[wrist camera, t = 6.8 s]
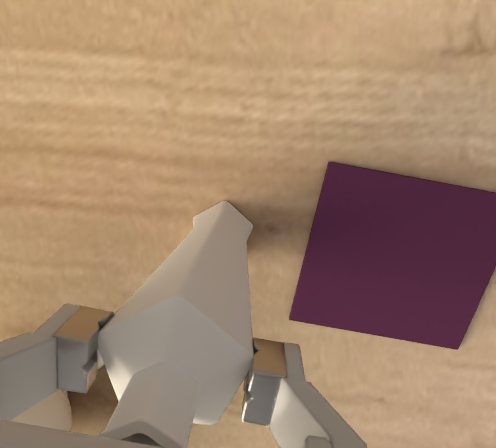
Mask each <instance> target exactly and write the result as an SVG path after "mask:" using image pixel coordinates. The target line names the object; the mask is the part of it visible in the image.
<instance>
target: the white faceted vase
mask: <svg viewBox="0 0 496 448" xmlns="http://www.w3.org/2000/svg"><path fill="white" fill-rule="evenodd" d="M193 226H194V229H193V230H192V231H191V232H190V233H189V234H188V235H187V236H186V237H185V238H184V240H183V241H182V242H181V243H180V244H179V245H178V246H177V247H176V248H175V249H174V250H173V252H172V253H171V254H170V255H169V256H168V257H167V258H166V259H165V260H164V261H163V262H162V264H161V265H160V266H159V267H158V268H157V269H156V270H155V271H154V272H153V273H152V274H151V276H150V277H149V278H148V279H147V280H146V281H145V282H144V283H143V284H142V285H141V286H140V288H139V289H138V290H137V291H136V292H135V293H134V294H133V295H132V296H131V297H130V298H129V300H128V301H127V302H126V303H125V304H124V305H123V306H122V307H121V308H120V309H119V310H118V312H117V313H116V314H115V315H114V316H113V317H112V318H111V319H110V320H109V322H108V323H107V324H106V325H105V326H104V327H103V328H102V329H101V330H100V331H99V334H98V349H99V351H100V354H101V357H102V359H103V362H104V365H105V367H106V370H107V372H108V375H109V378H110V380H111V383H112V385H113V388H114V391H115V393H116V396H117V398H118V401H119V403H118V405H117V406H116V408H115V410H114V412H113V414H112V416H111V418H110V420H109V422H108V424H107V426H106V428H105V430H104V431H103V432H101V433H99V434H98V435H96V436H99V437H105V438H111V439H117V440H123V441H128V442H134V443H140V444H146V445H152V446H157V447H163V448H188V447H187V445H188V441H189V437H190V432H191V428H192V424H193V423H197V424H204V425H214V424H216V423H217V422H218V421H219V420H220V418H221V416H222V415H223V413H224V411H225V410H226V408H227V406H228V405H229V403H230V401H231V400H232V398H233V396H234V394H235V393H236V391H237V389H238V388H239V386H240V384H241V383H242V381H243V379H244V378H245V376H246V374H247V373H248V371H249V369H250V367H251V363H252V359H253V355H254V352H253V337H252V322H251V306H250V291H249V276H248V261H247V246H246V241H247V239H248V237H249V235H250V233H251V231H252V229H253V225H252V223H251V222H249V221H248V220H247V219H246V218H245V217H244V216H243V215H242V214H241V213H240V212H239V211H238V210H236V209H235V208H234V207H233V206H232V205H231V204H230V203H229V202H227V201H222V202H220V203H218V204H216V205H215V206H213V207H211V208H209V209H207V210H205V211H203V212H201V213H199V214H197V215H196V216H194V217H193Z"/></svg>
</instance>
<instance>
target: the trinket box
mask: <svg viewBox="0 0 496 448" xmlns="http://www.w3.org/2000/svg"><path fill="white" fill-rule="evenodd" d="M11 421H13V422H18V423H24V424H30V425H36V426H41V427H47V428H53V429H59V430H65V431H70V432H71V431H72V411H71V406H70V402H69V399H68V392H67V391H65V390H58V389H57V391H56V392H54V393H53V394H51V395H50V396H48V397H46V398H45V399H43V400H42V401H40V402H39V403H37V404H35V405H34V406H32V407H31V408H29V409H28V410H26V411H25V412H23V413H21V414H20V415H18V416H17V417H15V418H14V419H12V420H11Z"/></svg>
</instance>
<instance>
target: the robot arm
mask: <svg viewBox="0 0 496 448" xmlns="http://www.w3.org/2000/svg"><path fill="white" fill-rule="evenodd" d="M114 315H115V314H114V313H113V312H110V311H105V310H100V309H95V308H90V307H85V306H80V305H74V304H69V303H68V304H64V305H63V306H62V307H61V308H60V309H59V310H58V311H57V312H56V313H54V314H53V315H52V316H51V317H50V318H49V319H48V320H47V321H46V322H45V323H44V324H43V325H42V326H40V327H39V328H38V329H37V330H36V331H35V332H34V333H29V332H28V333H25V334H22V335H19V336H17V337H14V338H11V339H8V340H5V341H2V342H0V448H163V447H157V446H152V445H146V444H140V443H134V442H128V441H123V440H117V439H111V438H105V437H99V436H94V435H88V434H82V433H76V432H70V431H65V430H59V429H53V428H47V427H41V426H36V425H30V424H24V423H18V422H13V421H11V420H12V419H14V418H15V417H17V416H18V415H20V414H21V413H23V412H25V411H26V410H28V409H29V408H31V407H32V406H34V405H35V404H37V403H39V402H40V401H42V400H43V399H45V398H46V397H48V396H50V395H51V394H53V393H54V392H56V391H57V389H58V390H65V391H72V392H79V393H87V391H88V390H89V388H90V387H91V385H92V384H93V382H94V381H95V379H96V378H97V371H98V369H99V368H101V367H102V366H104V362H103V359H102V357H101V354H100V351H99V349H98V334H99V331H100V330H101V329H102V328H103V327H104V326H105V325H106V324H107V323H108V322H109V320H110V319H111V318H112V317H113V316H114ZM253 352H254V355H253V359H252V363H251V367H250V369H249V371H248V373H247V374H246V376H245V379H244V392H245V393H244V398H243V405H242V421H245V422H250V423H254V424H259V425H264V426H269V429H270V430H271V432H272V434H273V436H274V438H275V440H276V442H277V443H278V445H279V447H280V448H367V445H366V443H365V442H364V441H363V440H362V439H361V438H360V437H359V436H358V435H357V433H356V432H355V431H354V430H353V429H352V428H351V427H350V426H349V425H348V424H347V422H346V421H345V420H344V419H343V418H342V417H341V416H340V415H339V414H338V412H337V411H336V410H335V409H334V408H333V407H332V406H331V405H330V404H329V403H328V401H327V400H326V399H325V398H324V397H323V396H322V395H321V394H320V393H319V392H318V390H317V389H316V388H315V387H314V386H313V385H312V384H311V383H310V382H306V381H305V375H304V369H303V363H302V357H301V351H300V346H299V345H298V344H292V343H285V342H283V343H282V342H276V341H270V340H264V339H259V338H253Z"/></svg>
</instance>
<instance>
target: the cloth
mask: <svg viewBox="0 0 496 448" xmlns="http://www.w3.org/2000/svg"><path fill="white" fill-rule="evenodd" d="M495 267H496V193H494V192H489V191H484V190H478V189H473V188H468V187H462V186H457V185H452V184H446V183H441V182H436V181H430V180H425V179H420V178H414V177H409V176H404V175H398V174H393V173H388V172H382V171H377V170H371V169H366V168H361V167H355V166H350V165H345V164H339V163H334V162H328V166H327V170H326V174H325V178H324V182H323V186H322V190H321V194H320V198H319V202H318V206H317V210H316V214H315V218H314V221H313V225H312V229H311V233H310V237H309V241H308V245H307V249H306V253H305V257H304V261H303V265H302V269H301V273H300V277H299V281H298V285H297V289H296V292H295V296H294V300H293V304H292V308H291V312H290V316H289V320H293V321H299V322H304V323H310V324H316V325H321V326H327V327H333V328H338V329H344V330H350V331H355V332H361V333H366V334H372V335H378V336H383V337H389V338H395V339H400V340H406V341H412V342H417V343H423V344H428V345H434V346H440V347H445V348H451V349H457V350H458V348H459V346H460V344H461V342H462V340H463V337H464V335H465V333H466V331H467V329H468V326H469V324H470V322H471V320H472V318H473V315H474V313H475V311H476V309H477V307H478V304H479V302H480V300H481V298H482V296H483V294H484V291H485V289H486V287H487V285H488V283H489V280H490V278H491V276H492V274H493V272H494V269H495Z"/></svg>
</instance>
